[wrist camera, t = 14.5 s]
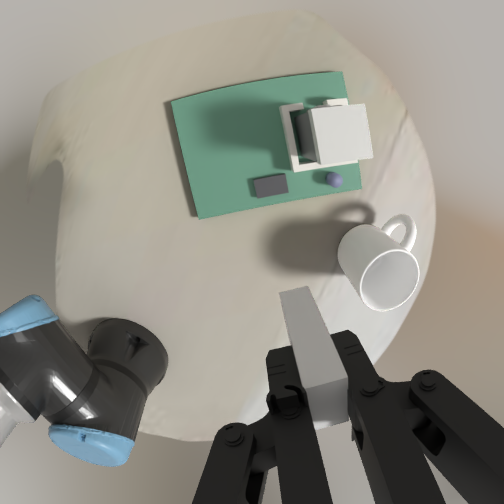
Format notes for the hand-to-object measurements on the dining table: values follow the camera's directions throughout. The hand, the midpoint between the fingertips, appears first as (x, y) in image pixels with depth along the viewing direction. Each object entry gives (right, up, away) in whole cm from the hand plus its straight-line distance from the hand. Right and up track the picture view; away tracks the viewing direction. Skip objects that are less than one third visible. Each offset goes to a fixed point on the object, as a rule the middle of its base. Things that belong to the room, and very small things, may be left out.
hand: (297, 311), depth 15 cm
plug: (+6, +18, +19) cm, 27 cm away
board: (0, +17, +21) cm, 27 cm away
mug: (+15, +5, +26) cm, 30 cm away
